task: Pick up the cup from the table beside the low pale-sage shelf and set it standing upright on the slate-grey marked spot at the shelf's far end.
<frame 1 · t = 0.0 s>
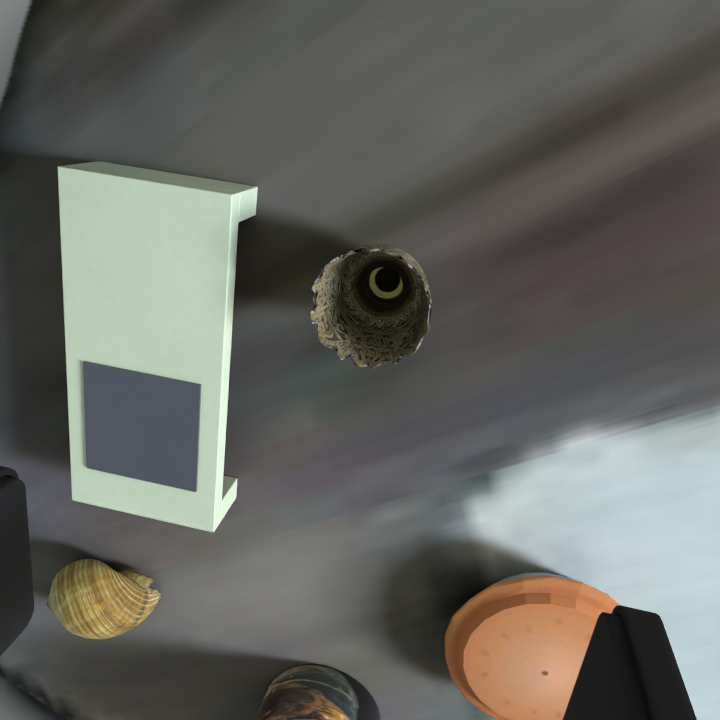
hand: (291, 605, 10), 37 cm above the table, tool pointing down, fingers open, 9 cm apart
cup: (387, 279, 46), on the table
shelf: (173, 343, 51), on the table
pie: (539, 624, 54), on the table
jar: (322, 710, 62), on the table
seashell: (118, 579, 61), on the table
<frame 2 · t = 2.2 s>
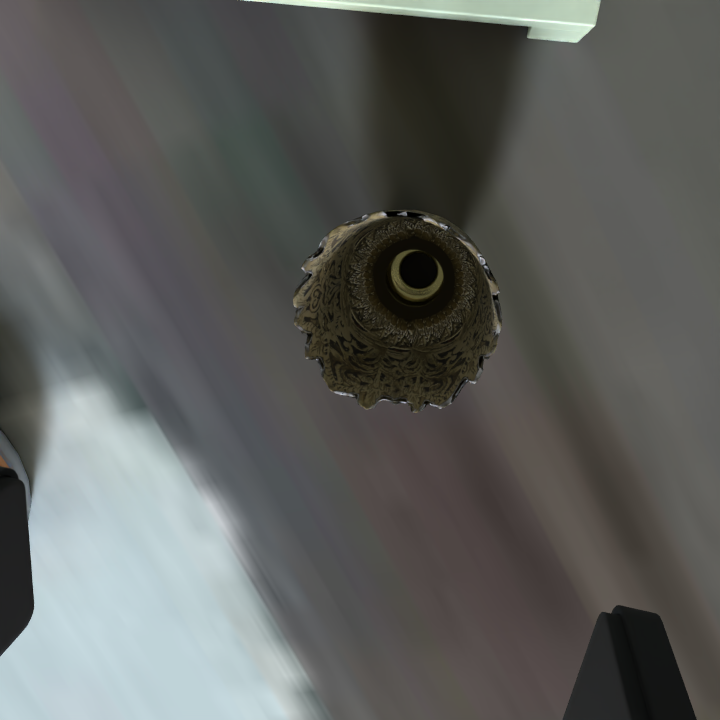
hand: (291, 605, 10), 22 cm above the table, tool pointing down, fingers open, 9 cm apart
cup: (418, 269, 30), on the table
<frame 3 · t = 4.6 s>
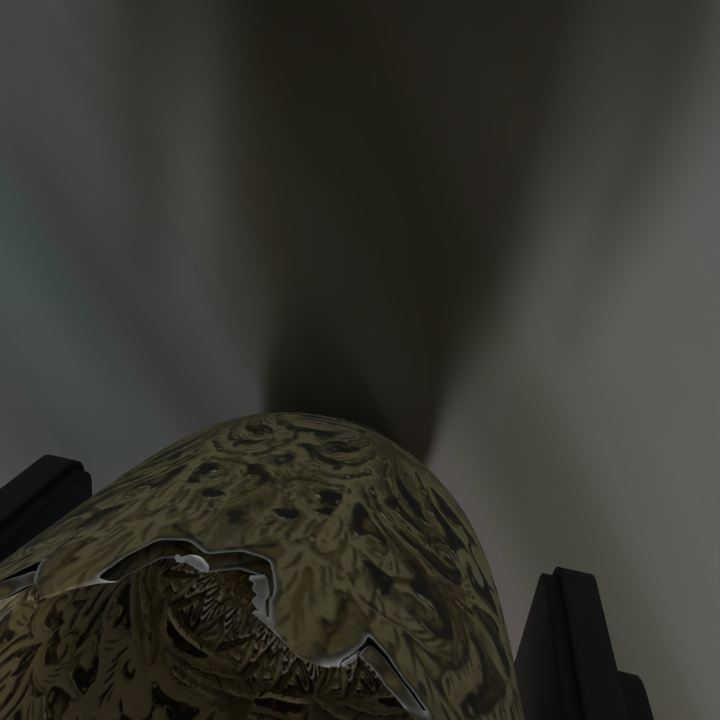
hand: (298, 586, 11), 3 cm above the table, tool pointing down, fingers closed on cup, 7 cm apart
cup: (342, 477, 14), on the table, touching gripper
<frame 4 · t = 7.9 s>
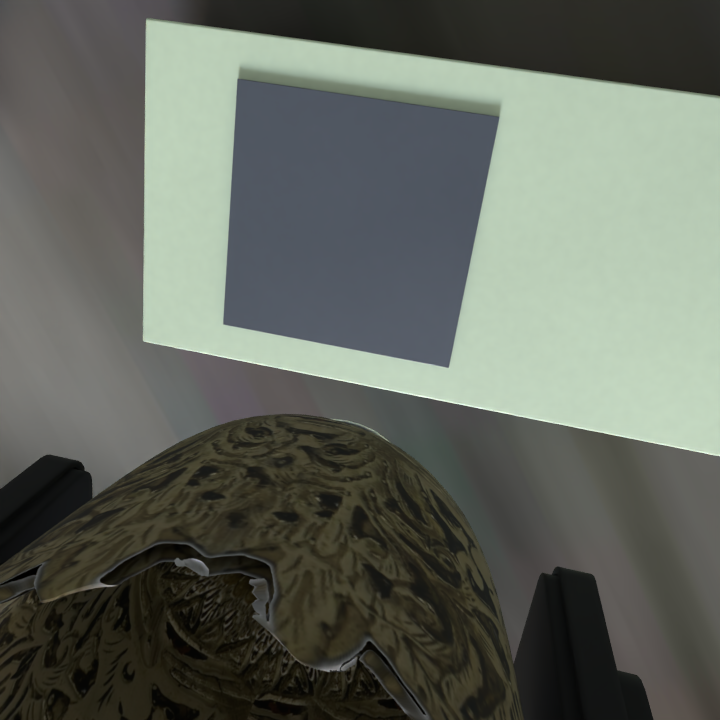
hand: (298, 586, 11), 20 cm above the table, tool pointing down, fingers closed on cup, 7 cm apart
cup: (342, 479, 14), point 16 cm above the table, touching gripper
shelf: (486, 230, 28), on the table
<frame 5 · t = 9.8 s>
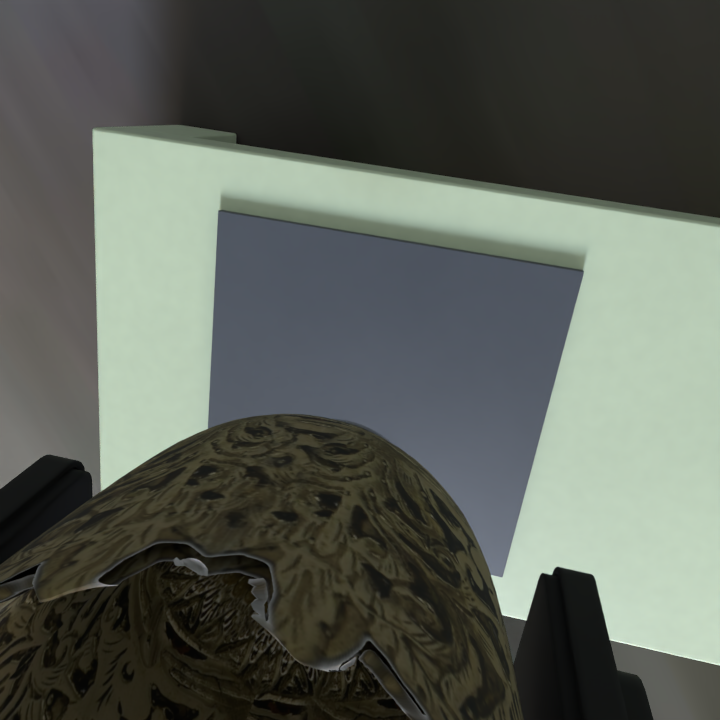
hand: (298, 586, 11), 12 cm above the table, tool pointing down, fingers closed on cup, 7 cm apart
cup: (341, 478, 14), point 9 cm above the table, touching gripper
shelf: (542, 370, 21), on the table
when the fingers open (9 cm above the table, at t = 11.4 s): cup stays where it is, resting on shelf.
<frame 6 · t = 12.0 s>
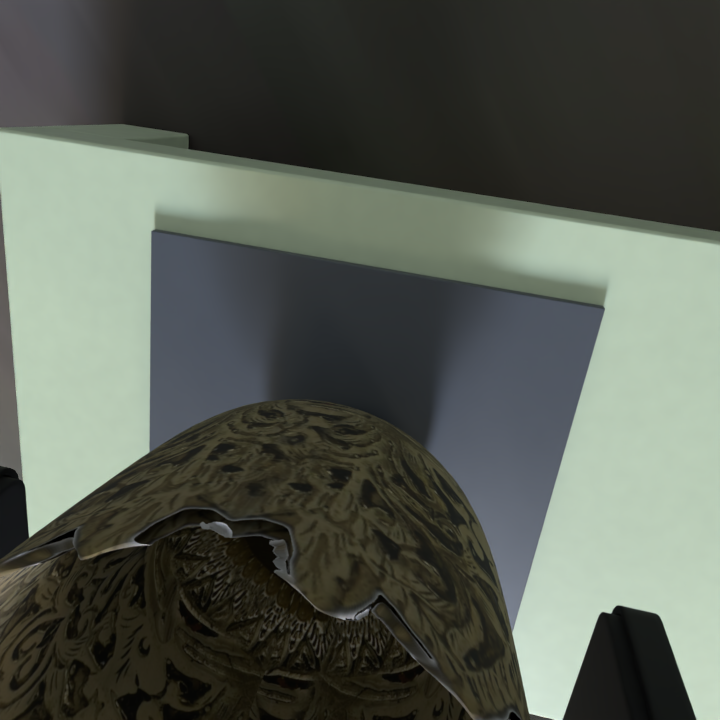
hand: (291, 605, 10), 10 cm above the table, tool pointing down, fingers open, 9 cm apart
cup: (346, 465, 14), point 5 cm above the table, touching shelf
shelf: (548, 410, 18), on the table
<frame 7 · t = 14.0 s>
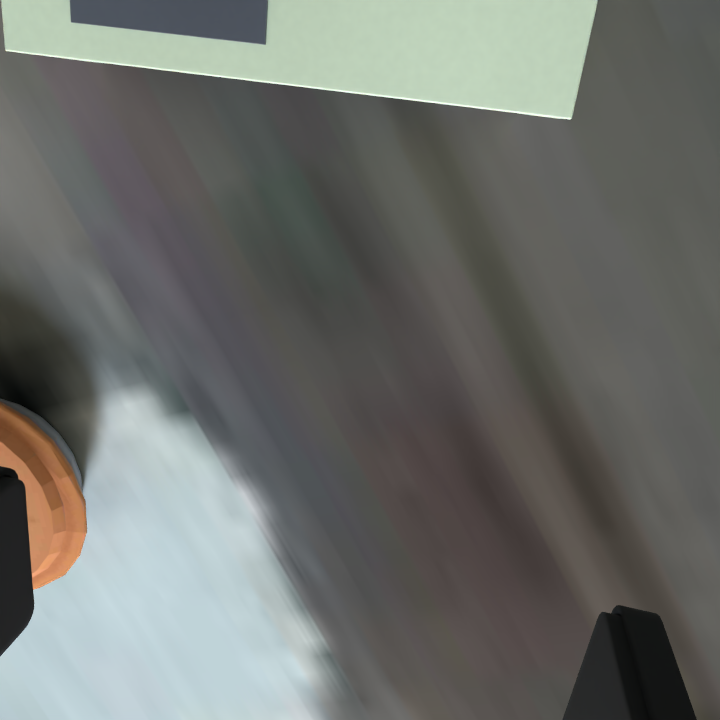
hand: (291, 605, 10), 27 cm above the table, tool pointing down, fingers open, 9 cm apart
pie: (10, 468, 46), on the table
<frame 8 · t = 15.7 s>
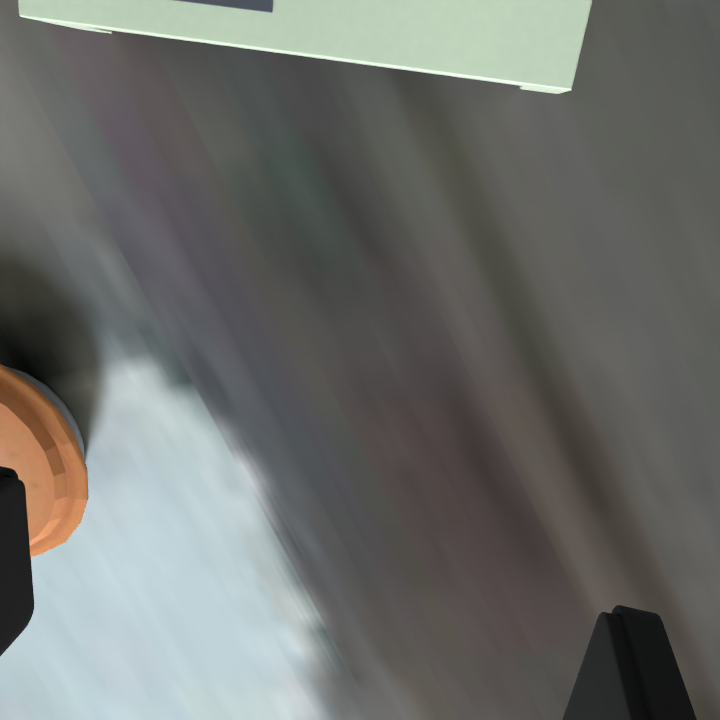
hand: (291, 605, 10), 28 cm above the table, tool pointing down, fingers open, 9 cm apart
pie: (15, 436, 46), on the table
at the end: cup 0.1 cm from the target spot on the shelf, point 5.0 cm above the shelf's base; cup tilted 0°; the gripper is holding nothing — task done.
